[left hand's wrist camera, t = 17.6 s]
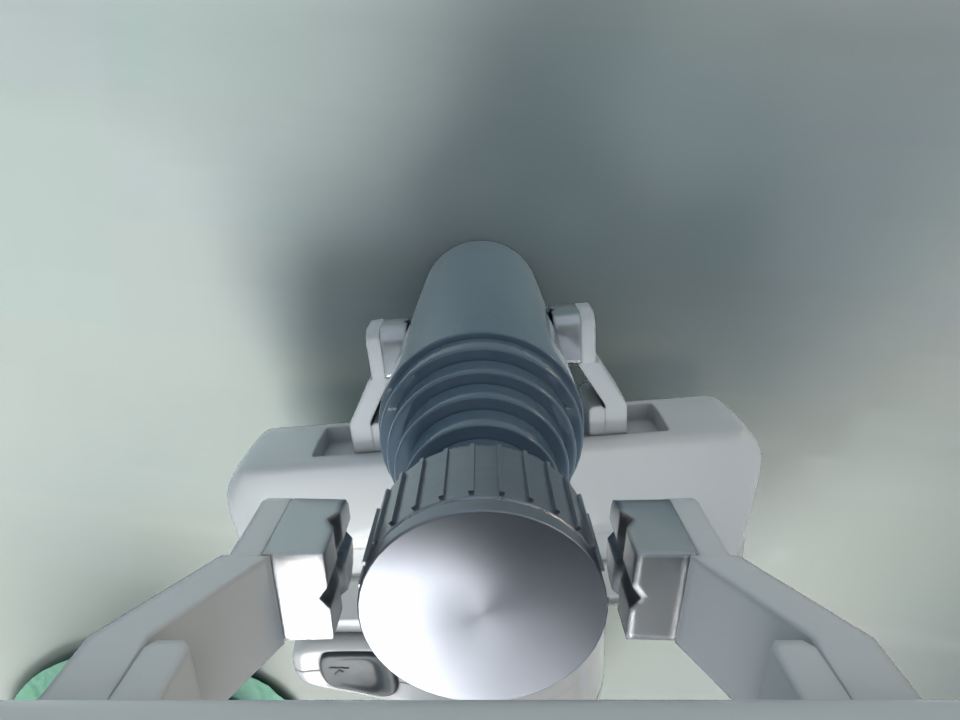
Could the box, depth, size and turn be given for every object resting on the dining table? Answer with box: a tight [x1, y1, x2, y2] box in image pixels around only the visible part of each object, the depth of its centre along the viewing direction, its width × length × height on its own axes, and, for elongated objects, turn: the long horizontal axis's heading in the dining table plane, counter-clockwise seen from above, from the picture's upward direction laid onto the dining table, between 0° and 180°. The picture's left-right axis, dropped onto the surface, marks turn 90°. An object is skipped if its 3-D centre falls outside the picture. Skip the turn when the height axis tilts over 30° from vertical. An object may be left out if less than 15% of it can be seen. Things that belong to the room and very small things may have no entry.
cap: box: [357, 443, 608, 700], centre depth 10 cm, size 4×4×2 cm
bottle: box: [379, 240, 584, 483], centre depth 18 cm, size 5×5×18 cm
